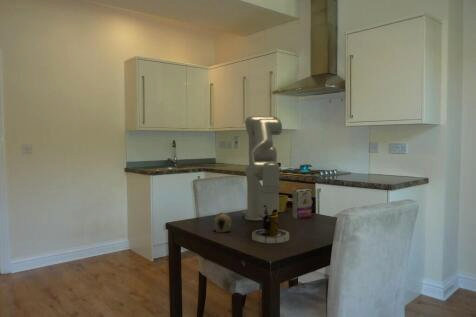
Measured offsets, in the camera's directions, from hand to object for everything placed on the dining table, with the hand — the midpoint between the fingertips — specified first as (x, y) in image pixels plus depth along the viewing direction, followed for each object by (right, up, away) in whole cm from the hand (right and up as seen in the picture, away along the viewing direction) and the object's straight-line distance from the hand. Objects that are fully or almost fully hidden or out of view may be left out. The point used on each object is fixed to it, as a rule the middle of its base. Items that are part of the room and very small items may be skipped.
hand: (270, 227), depth 175 cm
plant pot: (+11, -2, +65) cm, 66 cm away
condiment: (0, -4, 0) cm, 4 cm away
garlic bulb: (-22, -5, +13) cm, 27 cm away
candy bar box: (+23, -3, +46) cm, 52 cm away
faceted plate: (0, -5, 0) cm, 5 cm away
